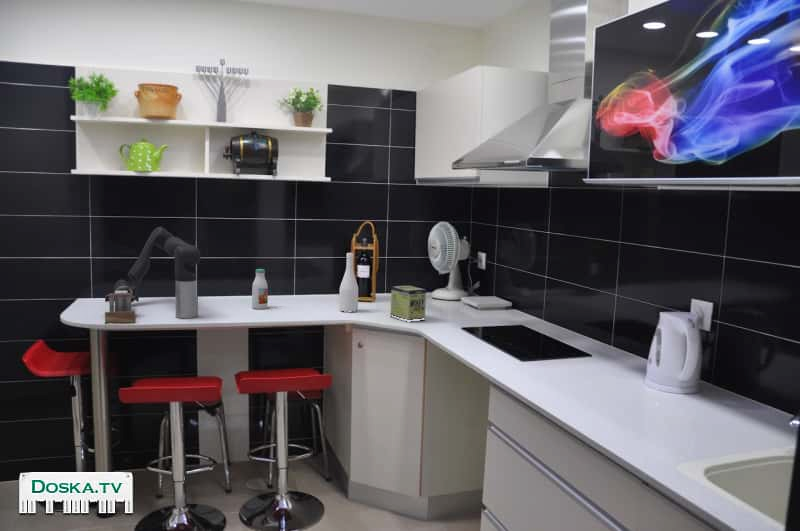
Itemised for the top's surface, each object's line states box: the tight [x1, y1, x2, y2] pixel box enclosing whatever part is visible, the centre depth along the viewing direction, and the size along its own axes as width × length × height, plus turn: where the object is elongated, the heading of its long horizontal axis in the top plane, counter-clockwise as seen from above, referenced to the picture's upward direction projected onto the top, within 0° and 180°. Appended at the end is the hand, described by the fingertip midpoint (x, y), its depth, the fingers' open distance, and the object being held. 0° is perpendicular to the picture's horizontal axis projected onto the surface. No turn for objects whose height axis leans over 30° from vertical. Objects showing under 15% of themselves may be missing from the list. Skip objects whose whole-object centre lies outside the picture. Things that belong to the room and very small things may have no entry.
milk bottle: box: [251, 268, 269, 310], centre depth 334 cm, size 8×8×20 cm
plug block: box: [114, 291, 128, 312], centre depth 296 cm, size 5×5×12 cm
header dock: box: [104, 292, 137, 325], centre depth 295 cm, size 16×12×13 cm
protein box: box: [389, 285, 427, 320], centre depth 322 cm, size 10×16×16 cm
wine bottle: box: [338, 252, 359, 313], centre depth 334 cm, size 10×10×30 cm
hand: (121, 300), depth 296 cm, fingers open, 8 cm apart
